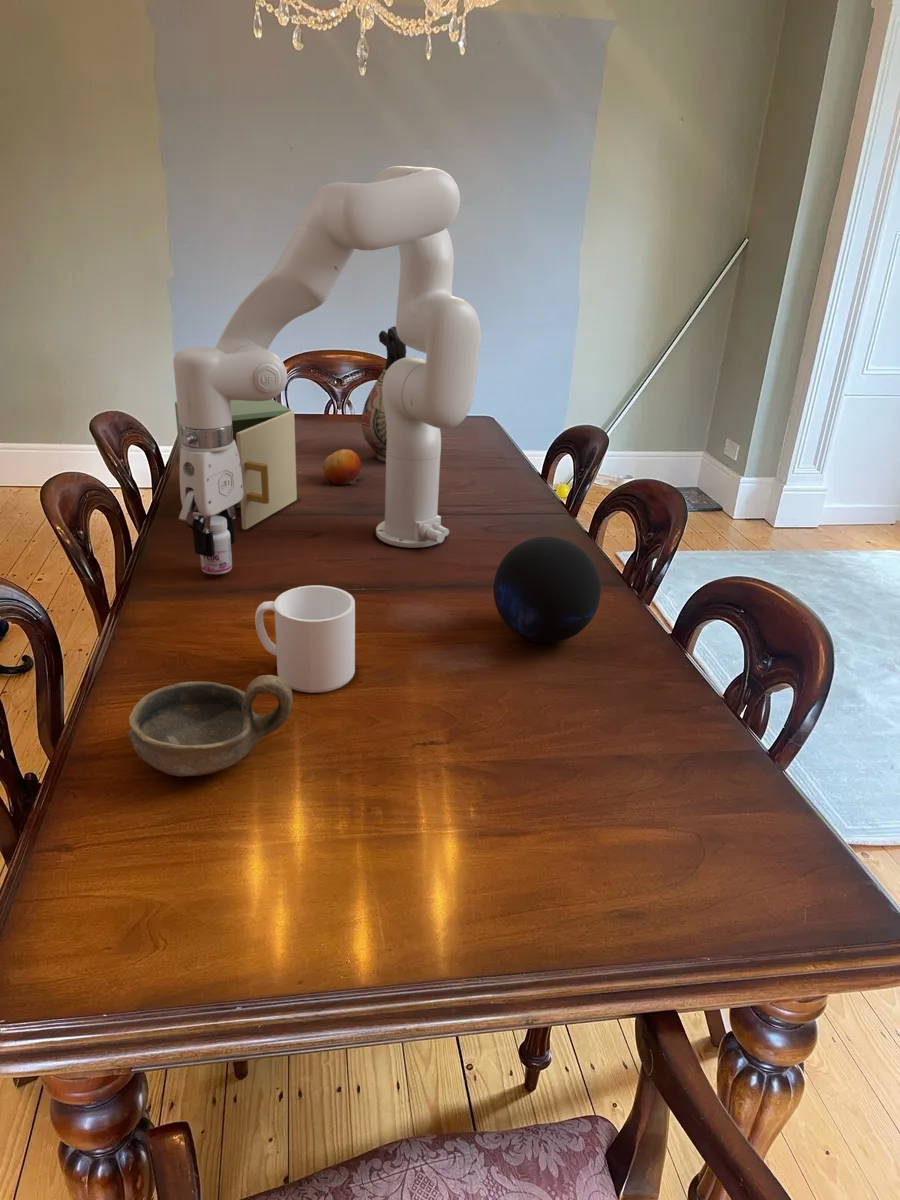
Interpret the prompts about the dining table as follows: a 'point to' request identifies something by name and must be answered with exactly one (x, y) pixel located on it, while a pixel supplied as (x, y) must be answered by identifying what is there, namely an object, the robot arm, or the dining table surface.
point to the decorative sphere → (547, 589)
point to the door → (267, 468)
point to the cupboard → (247, 416)
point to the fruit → (342, 467)
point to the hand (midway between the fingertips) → (215, 547)
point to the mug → (312, 637)
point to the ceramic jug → (381, 397)
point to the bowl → (204, 724)
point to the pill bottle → (218, 548)
